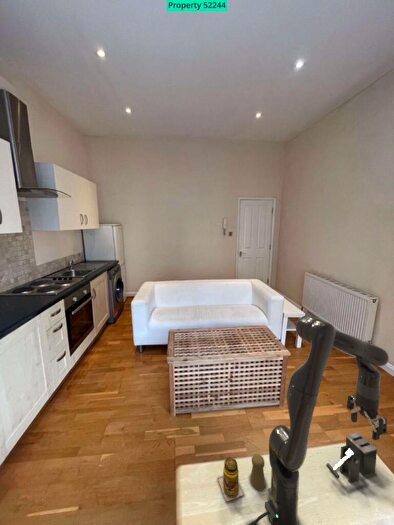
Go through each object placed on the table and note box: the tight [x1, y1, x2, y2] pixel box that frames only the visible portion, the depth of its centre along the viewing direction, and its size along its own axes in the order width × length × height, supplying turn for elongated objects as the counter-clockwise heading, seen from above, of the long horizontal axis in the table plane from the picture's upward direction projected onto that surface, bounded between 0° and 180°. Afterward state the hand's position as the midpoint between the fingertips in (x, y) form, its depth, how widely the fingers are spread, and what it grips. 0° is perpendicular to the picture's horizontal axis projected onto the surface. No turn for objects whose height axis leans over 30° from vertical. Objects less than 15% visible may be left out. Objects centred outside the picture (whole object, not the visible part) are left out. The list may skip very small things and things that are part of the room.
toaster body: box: [345, 431, 378, 477], centre depth 96 cm, size 7×8×12 cm
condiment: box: [217, 456, 244, 502], centre depth 89 cm, size 7×8×12 cm
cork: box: [249, 453, 266, 490], centre depth 91 cm, size 6×6×11 cm
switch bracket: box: [339, 444, 360, 485], centre depth 91 cm, size 10×8×13 cm
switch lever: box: [325, 449, 354, 480], centre depth 90 cm, size 12×5×2 cm, turn 107°
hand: (364, 430), depth 88 cm, fingers open, 8 cm apart
